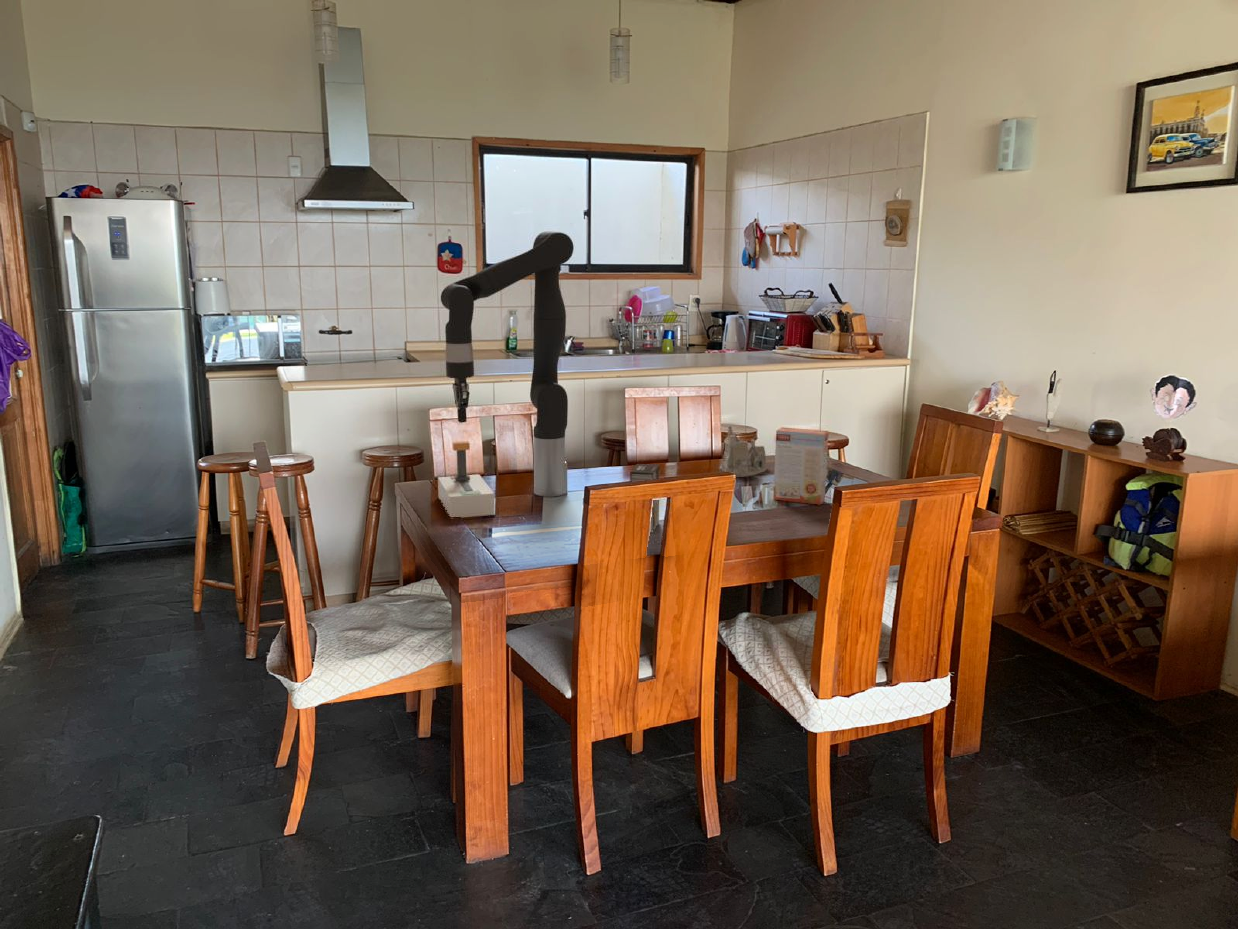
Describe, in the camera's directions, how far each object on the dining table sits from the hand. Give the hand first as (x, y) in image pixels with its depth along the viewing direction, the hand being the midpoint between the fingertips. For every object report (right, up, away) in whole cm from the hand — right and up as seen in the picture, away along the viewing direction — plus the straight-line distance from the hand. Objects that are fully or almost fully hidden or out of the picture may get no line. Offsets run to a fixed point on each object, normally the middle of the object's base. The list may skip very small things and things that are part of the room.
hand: (462, 421), depth 256 cm
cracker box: (+96, -22, +13) cm, 99 cm away
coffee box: (+50, -28, -14) cm, 59 cm away
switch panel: (0, -23, +5) cm, 24 cm away
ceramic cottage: (+84, -14, +47) cm, 98 cm away
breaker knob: (-1, -16, +8) cm, 18 cm away
